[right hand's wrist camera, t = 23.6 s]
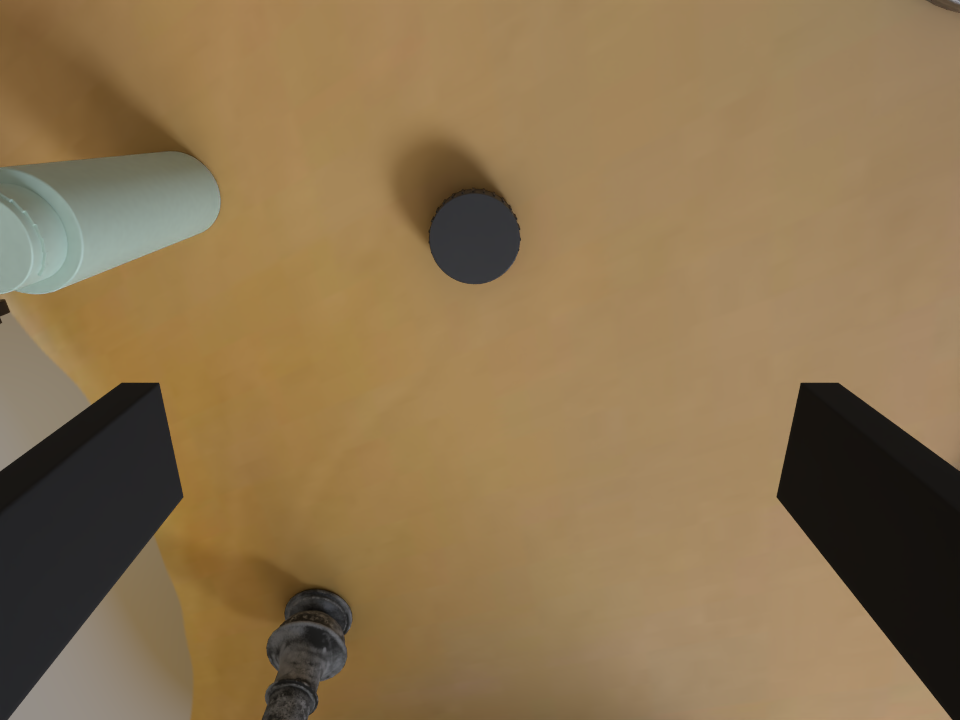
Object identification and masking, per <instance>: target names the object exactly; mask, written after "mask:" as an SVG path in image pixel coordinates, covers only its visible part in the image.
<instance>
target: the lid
mask: <svg viewBox="0 0 960 720" xmlns="http://www.w3.org/2000/svg"><path fill="white" fill-rule="evenodd" d="M516 220H517V217H516V215H515V214H513V212H512V209H511V206H510V205H509V206H508V204H507V203H506V202H505V201H504V199H503V198H500V197H499V196H497V195H496V194H495V192H493V193H492V192H489V191H486V190H485V189H483V190H481V189H474V188H472V189H469V190H464V189H463V190H462V191H461V192H458V193H456V194H454V193H453V194H452V196H451V197H449V198H448V199H447V200H446V199H445V200H444V202H443V204H442V205H441V206H440V208H439V207H438V208H437V210H436V215H435V217H434V216H433V218H432V220H431V222H432V225H431V227H430V230H429V233H430V235H429V243H430V249H431V253H432V255H433V258H434V260H435V261H436V263H437V265H438V266H439V267H440V268H441V270H442V271H443V272H445V273H446V274H447V275H448V276H450V277H451V278H453V279H455V280H457V281H460V282H463V283H467V284H482V283H487V282H490V281H492V280H495V279H497V278H498V277H500V276H501V275H502V274H504V273H505V272H506V271H507V270H508V269H509V268H510V266H511V265H512V264H513V262H514V261H515V258H516V256H517V253H518V251H519V245H520V241H521V238H520V233H519V230H520V227H519V224H517V221H516Z"/></svg>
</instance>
